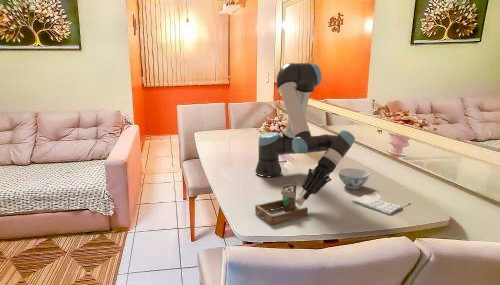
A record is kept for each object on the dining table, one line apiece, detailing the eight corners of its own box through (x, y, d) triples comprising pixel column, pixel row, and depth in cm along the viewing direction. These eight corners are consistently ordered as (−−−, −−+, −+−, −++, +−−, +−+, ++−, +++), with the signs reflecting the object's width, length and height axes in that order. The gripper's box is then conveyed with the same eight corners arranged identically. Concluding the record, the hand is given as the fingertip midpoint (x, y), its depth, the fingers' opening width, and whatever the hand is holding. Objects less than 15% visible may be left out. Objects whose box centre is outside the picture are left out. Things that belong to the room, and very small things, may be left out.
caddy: (255, 213, 145) (255, 205, 145) (289, 205, 154) (289, 197, 153) (271, 225, 134) (272, 217, 134) (307, 215, 143) (307, 208, 142)
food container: (282, 203, 155) (282, 182, 153) (295, 204, 154) (296, 183, 152) (279, 215, 143) (279, 192, 141) (293, 216, 142) (294, 193, 140)
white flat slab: (350, 202, 158) (351, 198, 157) (376, 193, 170) (376, 189, 169) (389, 217, 143) (389, 212, 143) (413, 205, 155) (414, 200, 154)
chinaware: (350, 193, 167) (351, 178, 166) (331, 184, 181) (332, 170, 179) (374, 189, 173) (375, 174, 171) (354, 180, 187) (355, 166, 185)
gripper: (344, 169, 148) (312, 213, 144) (323, 162, 159) (293, 203, 155) (335, 159, 144) (302, 204, 140) (315, 152, 155) (284, 194, 151)
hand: (298, 203), depth 147 cm, fingers closed
